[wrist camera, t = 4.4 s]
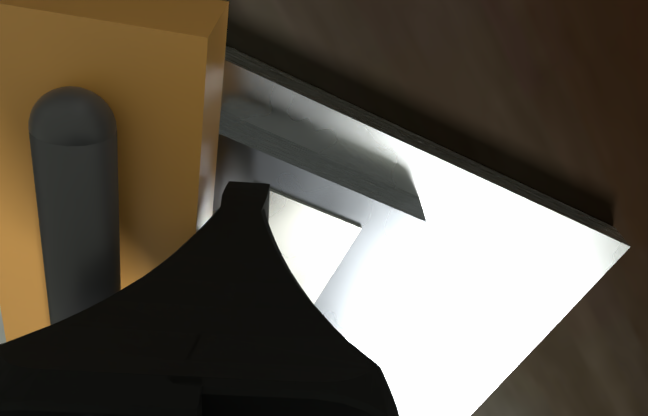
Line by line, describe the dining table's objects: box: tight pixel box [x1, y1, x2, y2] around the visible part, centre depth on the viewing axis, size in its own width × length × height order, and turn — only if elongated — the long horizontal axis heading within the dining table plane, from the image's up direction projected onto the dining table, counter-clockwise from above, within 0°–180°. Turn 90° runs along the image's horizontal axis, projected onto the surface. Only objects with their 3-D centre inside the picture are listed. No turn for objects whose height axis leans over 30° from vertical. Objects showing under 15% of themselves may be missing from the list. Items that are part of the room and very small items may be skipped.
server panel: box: [0, 45, 630, 416], centre depth 18 cm, size 18×18×3 cm
